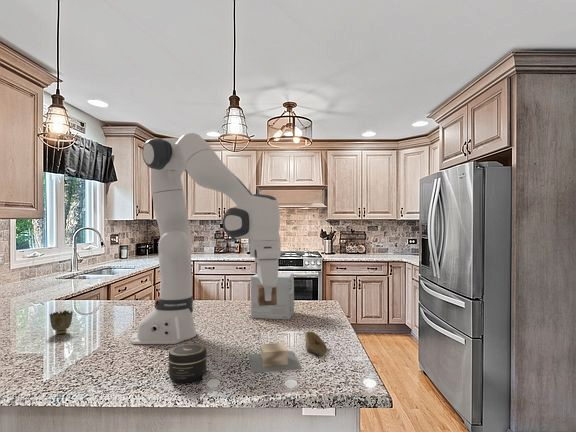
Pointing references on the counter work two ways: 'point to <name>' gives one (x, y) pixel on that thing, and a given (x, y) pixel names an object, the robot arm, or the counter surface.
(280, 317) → the supplement box
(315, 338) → the fossil
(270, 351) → the maple base
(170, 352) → the jar
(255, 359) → the build plate
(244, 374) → the counter surface
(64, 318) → the cup
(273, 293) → the walnut cube
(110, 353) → the counter surface
